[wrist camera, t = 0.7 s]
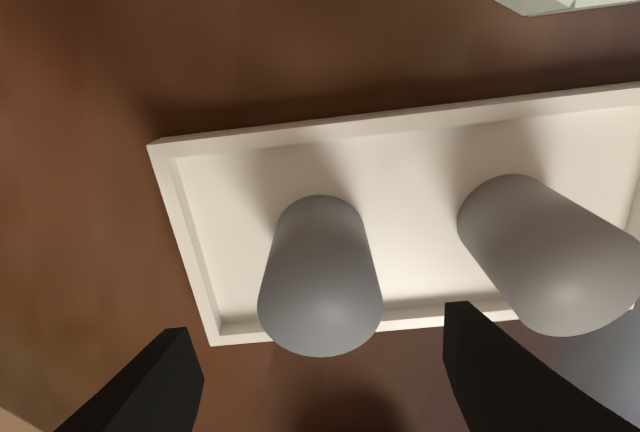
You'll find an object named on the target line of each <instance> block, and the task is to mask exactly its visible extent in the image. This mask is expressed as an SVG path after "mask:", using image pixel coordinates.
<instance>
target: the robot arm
mask: <svg viewBox="0 0 640 432" xmlns="http://www.w3.org/2000/svg"><path fill="white" fill-rule="evenodd" d="M443 361H444V364H445V368H446V371H447V374H448V377H449V380H450V383H451V387H452V390H453V393H454V396H455V398H456V400H457V403H458V405H459V407H460V409H461V412H462V414H463V416H464V419H465V421H466V423H467V425H468V428H469V430H470V432H640V429H639V428H637V427H636V426H634V425H633V424H631V423H630V422H628V421H626V420H625V419H623V418H622V417H620V416H619V415H617V414H616V413H614V412H612V411H611V410H609V409H608V408H606V407H605V406H603V405H602V404H600V403H598V402H597V401H596V400H594V399H593V398H591V397H590V396H588V395H587V394H585V393H584V392H582V391H581V390H579V389H578V388H577V387H575V386H574V385H573V384H571V383H570V382H568V381H567V380H566V379H564V378H563V377H562V376H560V375H559V374H557V373H556V372H555V371H553V370H552V369H551V368H549V367H548V366H547V365H545V364H544V363H543V362H541V361H540V360H539V359H538V358H536V357H535V356H534V355H533V354H531V353H530V352H529V351H527V350H526V349H525V348H524V347H522V346H521V345H520V344H519V343H517V342H516V341H515V340H514V339H513V338H511V337H510V336H509V335H508V334H507V333H505V332H504V331H503V330H502V329H501V328H499V327H498V326H497V325H496V324H495V323H494V322H492V321H491V320H490V319H489V318H488V317H487V316H485V315H484V314H483V313H482V312H481V311H479V310H478V309H477V308H476V307H475V306H474V305H472V304H471V303H470V302H469V301H468V300H467V301H456V302H445V309H444V336H443ZM204 380H205V379H204V376H203V373H202V370H201V367H200V365H199V362H198V359H197V356H196V353H195V350H194V347H193V344H192V341H191V339H190V336H189V333H188V330H187V327H180V328H169V329H165V330H164V331H162V332H161V333H160V334H159V335H158V336H157V337H156V338H155V339H154V340H152V341H151V342H150V343H149V344H148V345H147V346H146V347H145V348H144V349H143V350H142V351H141V352H140V353H139V354H138V355H137V356H136V357H135V358H134V359H133V360H131V361H130V362H129V363H128V364H127V365H126V366H125V367H124V368H123V369H122V370H121V371H120V372H119V373H118V374H117V375H116V376H115V377H114V378H112V379H111V380H110V381H109V382H108V383H107V384H106V385H105V386H104V387H103V388H102V389H101V390H100V391H99V392H98V393H96V394H95V395H94V396H93V397H92V398H91V399H90V400H89V401H87V402H86V403H85V404H84V405H83V406H82V407H81V408H79V409H78V410H77V411H76V412H75V413H74V414H73V415H72V416H70V417H69V418H68V419H67V420H66V421H65V422H64V423H63V424H61V425H60V426H59V427H58V428H57V429H56V430H54V431H53V432H191V431H192V428H193V425H194V422H195V419H196V416H197V412H198V408H199V403H200V399H201V394H202V389H203V385H204Z"/></svg>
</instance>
